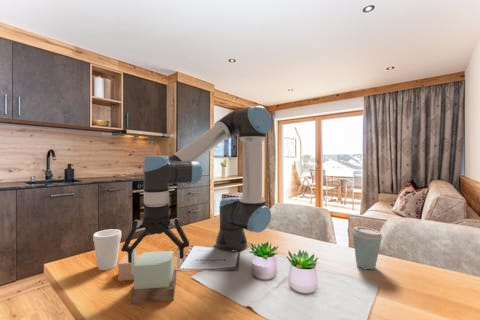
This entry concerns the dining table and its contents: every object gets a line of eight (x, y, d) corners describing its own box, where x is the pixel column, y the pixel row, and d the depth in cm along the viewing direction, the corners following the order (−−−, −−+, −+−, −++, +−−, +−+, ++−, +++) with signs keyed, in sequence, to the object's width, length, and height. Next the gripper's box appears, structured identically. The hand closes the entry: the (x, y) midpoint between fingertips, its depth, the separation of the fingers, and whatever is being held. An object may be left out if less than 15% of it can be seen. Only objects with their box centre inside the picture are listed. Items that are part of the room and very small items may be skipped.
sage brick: (173, 271, 82) (173, 250, 81) (168, 287, 72) (168, 264, 72) (143, 272, 80) (143, 252, 80) (134, 289, 70) (134, 265, 70)
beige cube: (144, 269, 90) (144, 254, 90) (139, 279, 83) (139, 262, 83) (124, 271, 88) (124, 255, 88) (118, 281, 82) (118, 263, 81)
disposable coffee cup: (367, 259, 100) (368, 224, 100) (388, 271, 90) (389, 232, 90) (345, 262, 98) (346, 226, 98) (365, 275, 87) (366, 234, 87)
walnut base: (176, 281, 83) (176, 269, 83) (173, 301, 71) (173, 288, 71) (139, 284, 80) (139, 272, 80) (130, 306, 69) (130, 292, 69)
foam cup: (108, 273, 86) (108, 238, 86) (87, 270, 88) (87, 236, 88) (126, 262, 96) (126, 230, 96) (106, 259, 98) (106, 228, 97)
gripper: (196, 200, 82) (196, 261, 82) (117, 203, 77) (118, 268, 77) (196, 205, 74) (196, 272, 75) (109, 208, 69) (110, 280, 70)
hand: (156, 270), depth 76 cm, fingers open, 13 cm apart
